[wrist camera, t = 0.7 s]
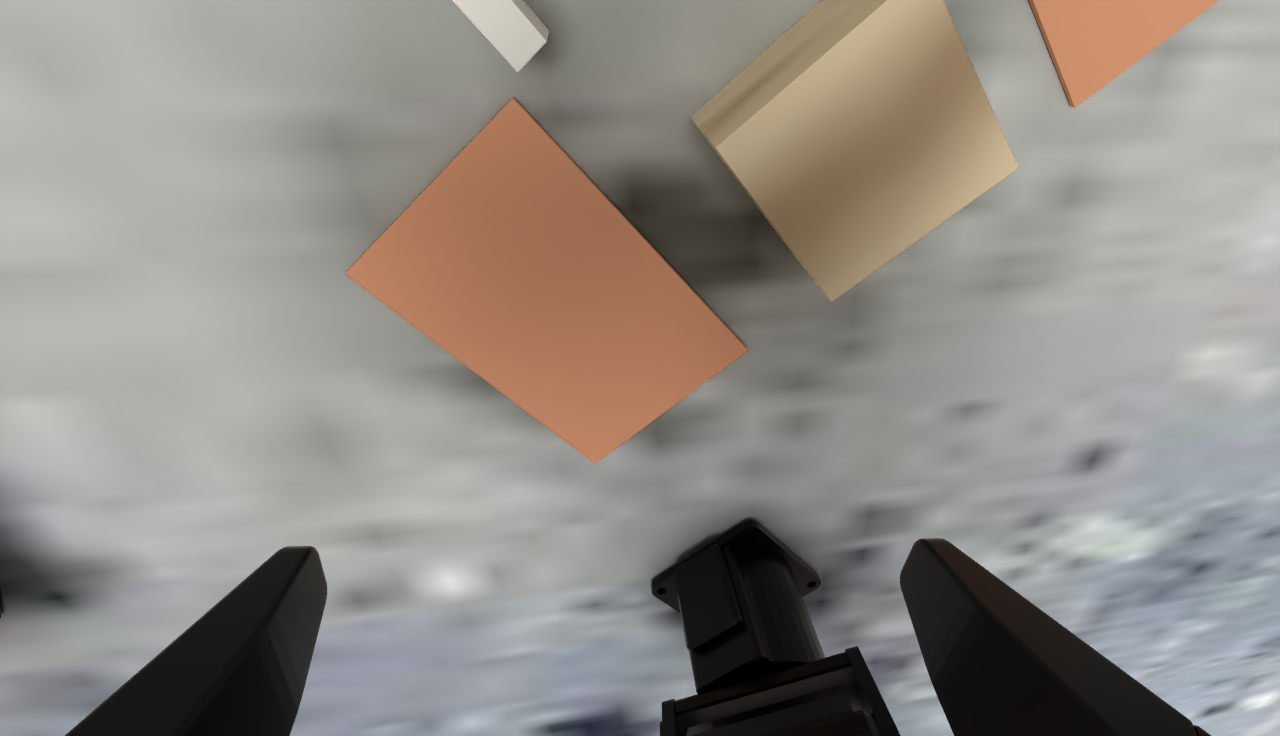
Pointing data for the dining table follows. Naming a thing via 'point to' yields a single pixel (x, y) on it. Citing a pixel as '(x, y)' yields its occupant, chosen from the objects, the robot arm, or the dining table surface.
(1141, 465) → the dining table surface
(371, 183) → the dining table surface
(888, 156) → the block
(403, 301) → the mats
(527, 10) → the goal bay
